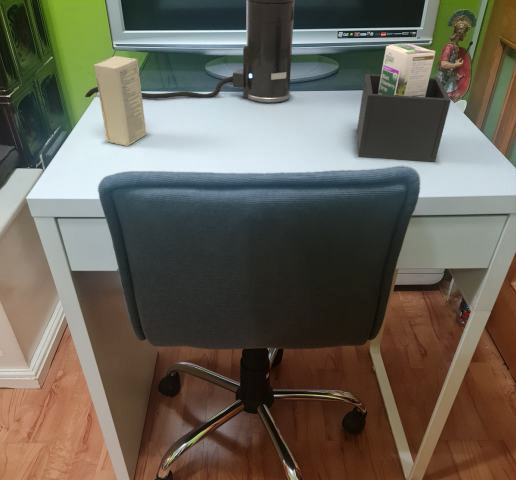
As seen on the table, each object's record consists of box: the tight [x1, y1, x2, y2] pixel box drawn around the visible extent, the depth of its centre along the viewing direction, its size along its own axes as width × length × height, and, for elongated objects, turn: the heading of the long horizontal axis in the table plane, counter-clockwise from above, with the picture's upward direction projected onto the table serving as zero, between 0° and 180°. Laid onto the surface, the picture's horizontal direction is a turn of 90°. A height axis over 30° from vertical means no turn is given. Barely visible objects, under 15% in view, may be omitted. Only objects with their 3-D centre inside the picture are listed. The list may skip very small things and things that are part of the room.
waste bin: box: [356, 73, 452, 163], centre depth 86 cm, size 13×13×10 cm
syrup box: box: [378, 43, 436, 97], centre depth 84 cm, size 6×6×14 cm
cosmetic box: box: [93, 55, 147, 147], centre depth 84 cm, size 6×4×12 cm
